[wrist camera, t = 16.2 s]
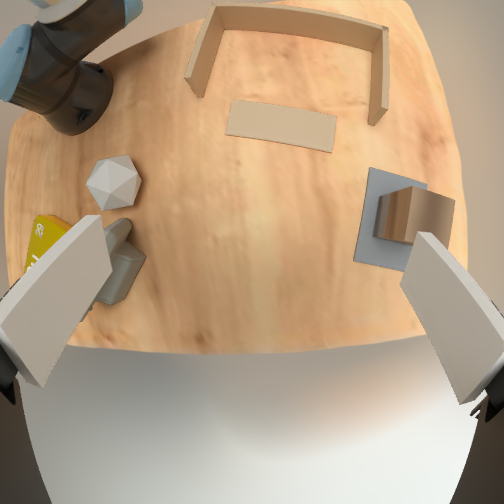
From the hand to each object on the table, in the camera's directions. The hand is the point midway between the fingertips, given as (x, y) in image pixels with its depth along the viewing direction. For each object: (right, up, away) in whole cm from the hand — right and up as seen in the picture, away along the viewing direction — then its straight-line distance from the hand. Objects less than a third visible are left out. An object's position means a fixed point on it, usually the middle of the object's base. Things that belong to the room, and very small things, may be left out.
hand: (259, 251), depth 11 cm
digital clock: (-23, -2, +34) cm, 41 cm away
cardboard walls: (+6, +27, +28) cm, 39 cm away
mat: (+21, +5, +28) cm, 35 cm away
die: (-21, +11, +32) cm, 40 cm away
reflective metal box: (+21, +5, +28) cm, 35 cm away
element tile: (-36, -2, +35) cm, 51 cm away
